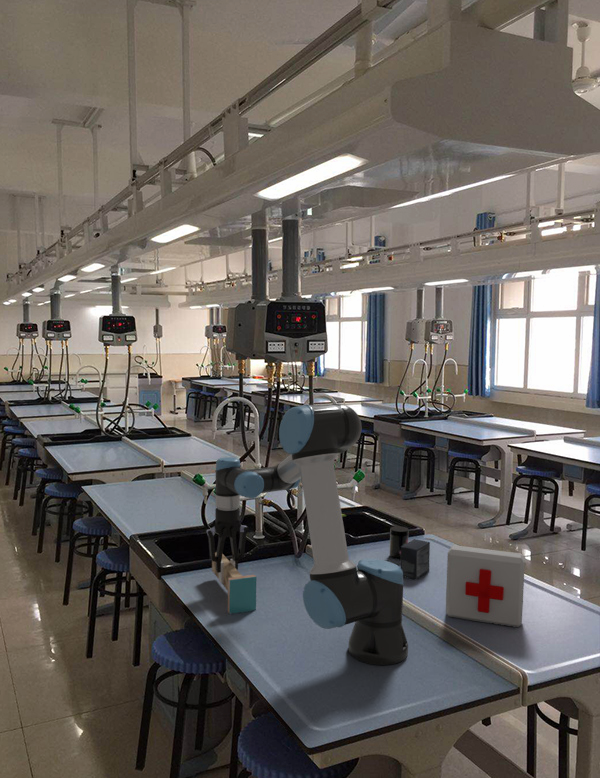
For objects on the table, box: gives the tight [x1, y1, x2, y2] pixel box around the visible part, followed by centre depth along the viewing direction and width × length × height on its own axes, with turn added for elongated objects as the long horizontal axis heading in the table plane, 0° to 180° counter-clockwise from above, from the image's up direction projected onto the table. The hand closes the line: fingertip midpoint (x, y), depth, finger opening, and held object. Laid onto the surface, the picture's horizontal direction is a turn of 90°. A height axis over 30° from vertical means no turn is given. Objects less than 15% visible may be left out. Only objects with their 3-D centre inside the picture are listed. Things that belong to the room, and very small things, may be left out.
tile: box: [227, 574, 257, 614], centre depth 192 cm, size 2×8×10 cm, turn 113°
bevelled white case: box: [445, 544, 526, 628], centre depth 189 cm, size 21×8×20 cm, turn 70°
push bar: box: [211, 551, 243, 592], centre depth 206 cm, size 24×3×6 cm, turn 23°
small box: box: [400, 538, 431, 580], centre depth 225 cm, size 11×6×10 cm, turn 144°
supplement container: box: [389, 525, 410, 560], centre depth 243 cm, size 7×7×10 cm
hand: (226, 581), depth 206 cm, fingers closed on push bar, 3 cm apart
